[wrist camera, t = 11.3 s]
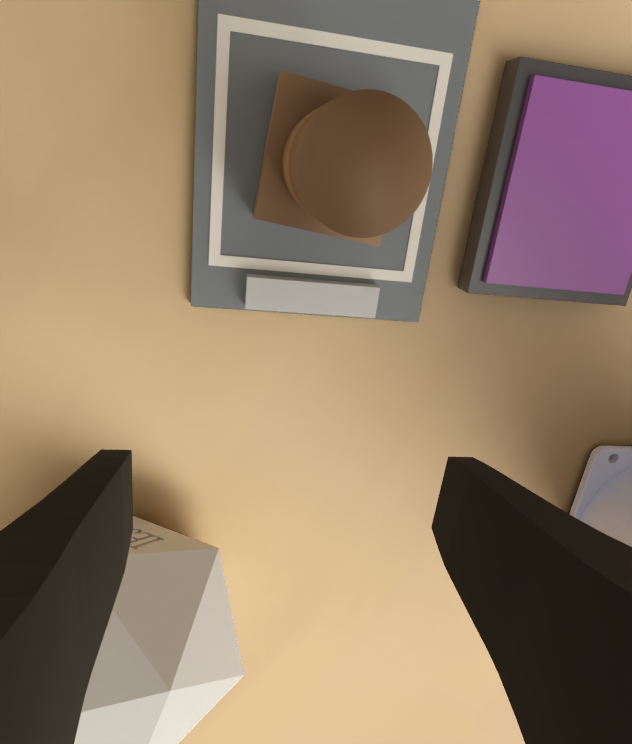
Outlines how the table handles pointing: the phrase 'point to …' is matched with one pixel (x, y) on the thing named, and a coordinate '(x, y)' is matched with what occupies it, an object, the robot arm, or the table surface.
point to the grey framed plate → (248, 136)
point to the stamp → (341, 160)
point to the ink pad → (555, 188)
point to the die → (162, 644)
